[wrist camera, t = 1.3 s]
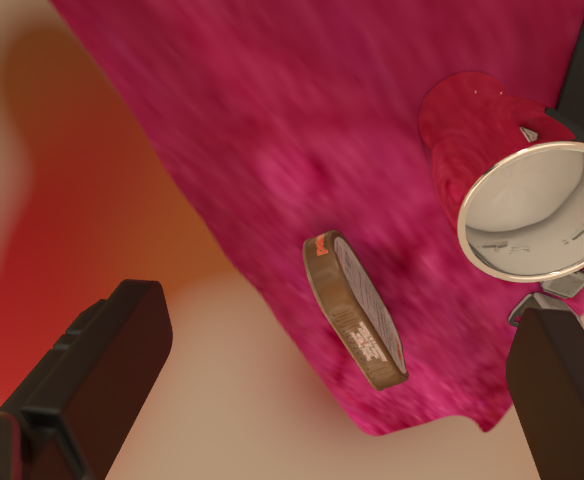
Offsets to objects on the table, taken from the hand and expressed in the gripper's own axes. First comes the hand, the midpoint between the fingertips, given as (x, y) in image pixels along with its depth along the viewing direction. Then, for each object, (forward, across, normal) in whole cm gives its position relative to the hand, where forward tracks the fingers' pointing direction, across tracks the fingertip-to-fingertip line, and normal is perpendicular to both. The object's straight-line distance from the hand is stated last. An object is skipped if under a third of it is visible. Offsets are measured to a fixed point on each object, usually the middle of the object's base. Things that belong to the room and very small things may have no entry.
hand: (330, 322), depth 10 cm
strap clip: (+25, -18, +17) cm, 35 cm away
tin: (+24, -1, +17) cm, 30 cm away
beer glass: (+24, -8, +2) cm, 26 cm away
